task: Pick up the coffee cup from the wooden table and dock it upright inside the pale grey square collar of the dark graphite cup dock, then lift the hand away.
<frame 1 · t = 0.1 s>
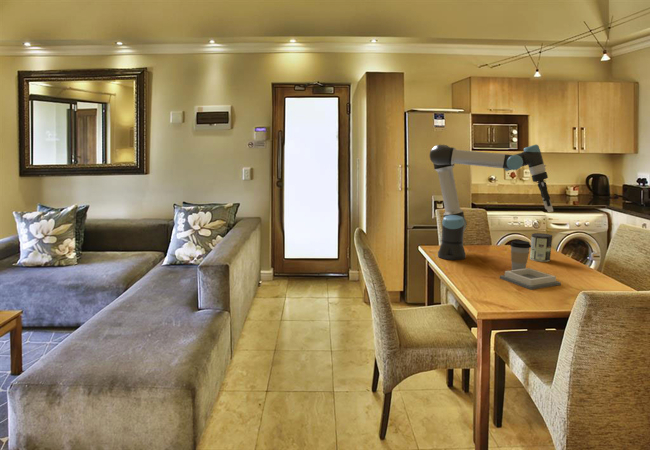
hand: (549, 210, 223), 28 cm above the table, tool tilted 20°, fingers open, 13 cm apart
coffee can: (539, 259, 228), on the table
cup dock: (529, 281, 189), on the table
coffee cup: (518, 271, 206), on the table
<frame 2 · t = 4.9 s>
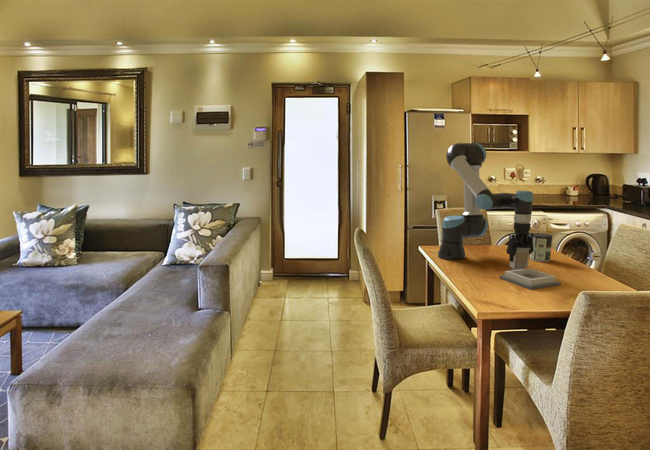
hand: (518, 266, 206), 2 cm above the table, tool pointing down, fingers closed on coffee cup, 8 cm apart
coffee cup: (518, 271, 206), on the table, touching gripper
everything else where it was.
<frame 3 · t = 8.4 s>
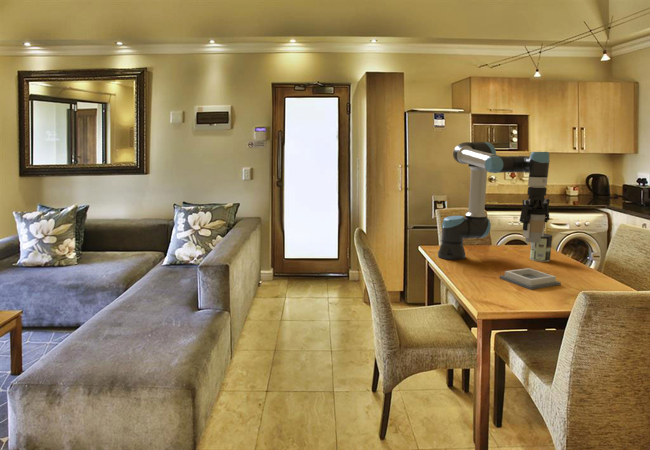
hand: (533, 236, 185), 21 cm above the table, tool pointing down, fingers closed on coffee cup, 8 cm apart
coffee cup: (532, 241, 186), point 19 cm above the table, touching gripper
everything else where it was.
when the fingers open (5 cm above the table, at t = 12.3 s): coffee cup moves 3 cm, resting on cup dock.
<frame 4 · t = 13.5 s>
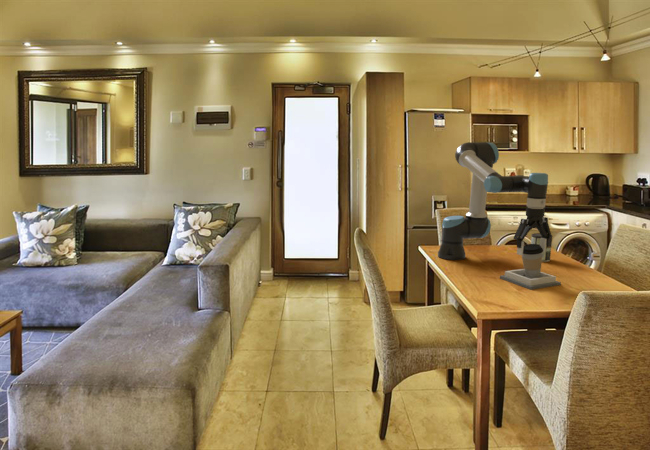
hand: (531, 253, 187), 13 cm above the table, tool pointing down, fingers open, 13 cm apart
coffee cup: (533, 277, 190), point 2 cm above the table, touching cup dock
everything else where it was.
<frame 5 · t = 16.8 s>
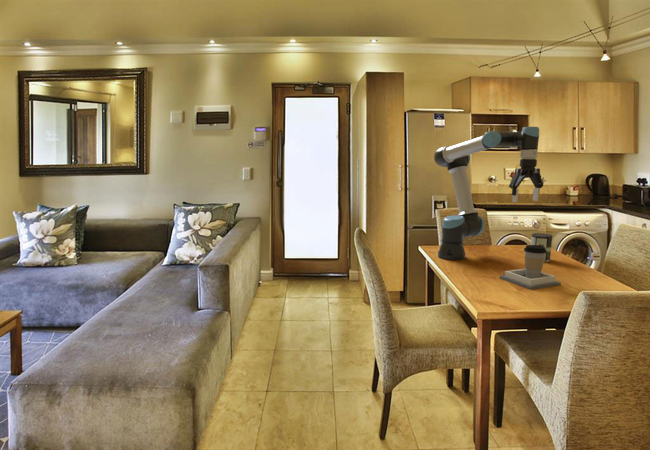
hand: (525, 201, 206), 35 cm above the table, tool pointing down, fingers open, 13 cm apart
at the end: coffee cup 2.5 cm off-centre on the cup dock, point 1.0 cm above the cup dock's base; coffee cup tilted 0°; the gripper is holding nothing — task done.
